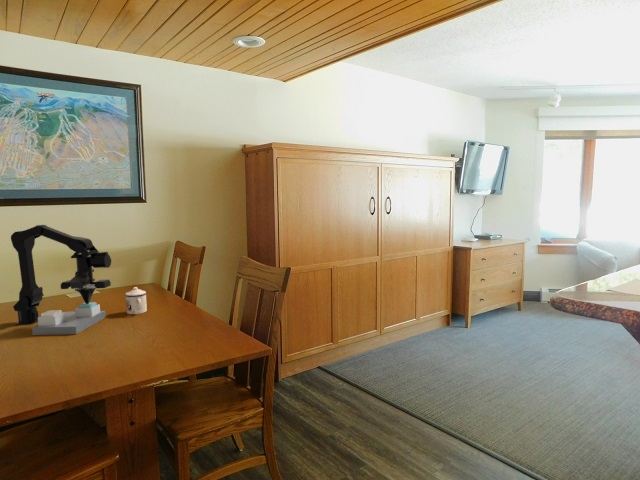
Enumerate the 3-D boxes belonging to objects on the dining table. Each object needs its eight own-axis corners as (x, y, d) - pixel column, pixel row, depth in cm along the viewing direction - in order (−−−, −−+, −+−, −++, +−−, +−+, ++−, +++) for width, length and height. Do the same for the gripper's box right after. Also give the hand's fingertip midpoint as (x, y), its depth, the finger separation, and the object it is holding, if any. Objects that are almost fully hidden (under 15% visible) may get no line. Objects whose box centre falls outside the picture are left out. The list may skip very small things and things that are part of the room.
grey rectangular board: (32, 335, 163) (31, 318, 163) (67, 318, 186) (66, 303, 186) (76, 334, 164) (75, 317, 163) (105, 317, 186) (104, 303, 186)
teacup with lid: (124, 311, 195) (122, 287, 194) (144, 308, 201) (143, 284, 199) (129, 317, 186) (128, 291, 184) (151, 313, 191) (149, 288, 190)
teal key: (79, 312, 178) (78, 305, 178) (85, 309, 183) (84, 302, 183) (90, 312, 178) (90, 305, 178) (96, 308, 183) (96, 302, 183)
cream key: (41, 321, 166) (41, 313, 166) (49, 317, 171) (49, 310, 171) (54, 320, 166) (53, 313, 166) (62, 317, 171) (61, 310, 171)
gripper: (50, 271, 170) (54, 309, 172) (96, 271, 171) (99, 308, 172) (66, 267, 181) (69, 302, 183) (110, 266, 182) (112, 301, 183)
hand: (87, 303), depth 180 cm, fingers closed, pressing on teal key
